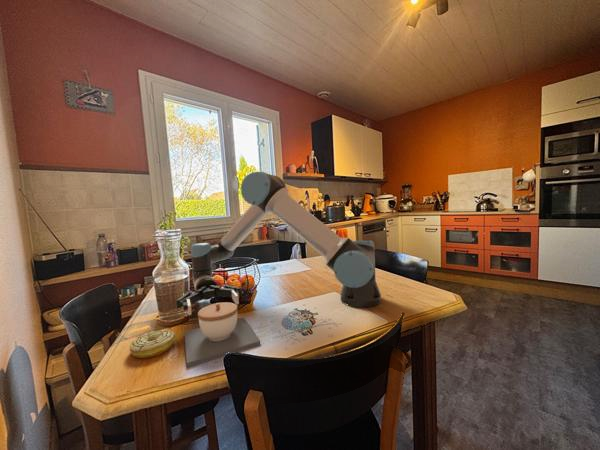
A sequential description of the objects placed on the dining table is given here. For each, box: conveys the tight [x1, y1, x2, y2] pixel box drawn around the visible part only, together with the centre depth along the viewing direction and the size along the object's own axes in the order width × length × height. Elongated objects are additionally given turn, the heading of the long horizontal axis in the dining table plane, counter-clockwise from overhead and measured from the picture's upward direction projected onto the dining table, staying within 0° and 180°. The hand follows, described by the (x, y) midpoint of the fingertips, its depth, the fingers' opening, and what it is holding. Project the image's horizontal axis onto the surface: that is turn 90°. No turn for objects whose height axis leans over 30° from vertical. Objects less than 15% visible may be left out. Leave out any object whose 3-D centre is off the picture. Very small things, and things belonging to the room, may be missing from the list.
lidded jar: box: [197, 301, 239, 341], centre depth 69 cm, size 11×11×9 cm
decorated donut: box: [129, 329, 176, 359], centre depth 66 cm, size 10×11×4 cm
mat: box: [183, 316, 261, 368], centre depth 69 cm, size 18×18×1 cm
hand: (214, 305), depth 72 cm, fingers open, 13 cm apart
